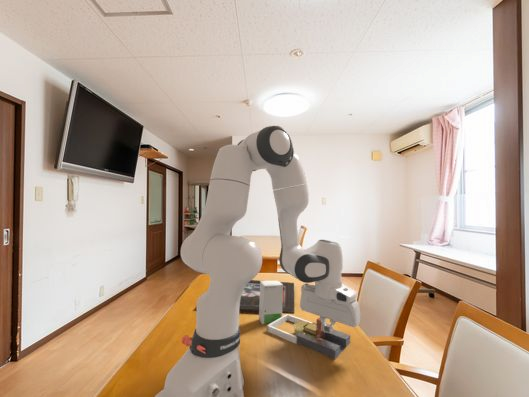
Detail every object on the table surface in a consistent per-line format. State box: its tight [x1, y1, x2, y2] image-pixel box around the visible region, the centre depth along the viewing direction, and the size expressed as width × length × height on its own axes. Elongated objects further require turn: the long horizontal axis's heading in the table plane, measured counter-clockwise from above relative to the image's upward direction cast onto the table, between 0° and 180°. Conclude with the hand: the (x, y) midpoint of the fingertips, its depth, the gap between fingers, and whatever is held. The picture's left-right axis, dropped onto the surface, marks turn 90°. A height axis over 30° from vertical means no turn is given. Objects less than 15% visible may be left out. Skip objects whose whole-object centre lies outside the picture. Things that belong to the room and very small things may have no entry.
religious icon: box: [195, 279, 295, 315], centre depth 129 cm, size 40×45×3 cm
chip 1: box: [293, 320, 310, 336], centre depth 90 cm, size 4×4×4 cm
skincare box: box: [258, 280, 283, 325], centre depth 102 cm, size 8×7×16 cm
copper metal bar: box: [315, 316, 325, 340], centre depth 86 cm, size 4×2×7 cm, turn 141°
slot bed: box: [295, 321, 351, 360], centre depth 85 cm, size 12×14×4 cm
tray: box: [266, 313, 313, 344], centre depth 93 cm, size 13×12×3 cm
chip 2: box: [305, 322, 316, 336], centre depth 87 cm, size 4×4×4 cm
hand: (327, 330), depth 84 cm, fingers closed
